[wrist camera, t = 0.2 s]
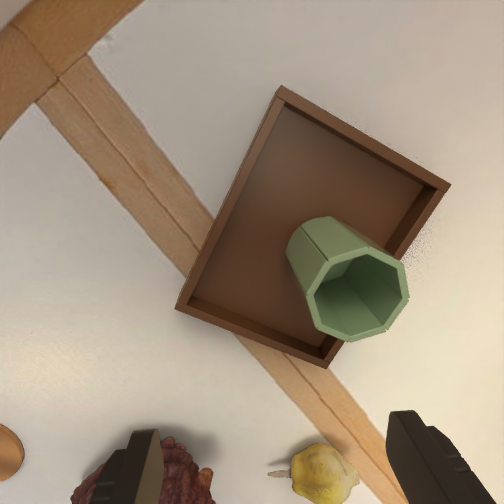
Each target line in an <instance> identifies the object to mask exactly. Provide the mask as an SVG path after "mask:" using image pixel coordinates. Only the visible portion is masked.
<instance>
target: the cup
mask: <svg viewBox="0 0 504 504" xmlns="http://www.w3.org/2000/svg"><path fill="white" fill-rule="evenodd" d="M285 251H286V252H285V254H286V257H287V261H288V264H289V267H290V270H291V273H292V277H293V279H294V281H295V283H296V286H297V288H298V290H299V292H300V295H301V297H302V299H303V301H304V304H305V306H306V308H307V310H308V313H309V315H310V317H311V319H312V322H313V324H314V326H315V328H317V330H320V331H322V332H324V333H327V334H329V335H331V336H334V337H336V338H339V339H341V340H343V341H346V342H349V341H350V342H354V341H357V340H361V339H364V338H367V337H370V336H373V335H377V334H380V333H383V332H386V330H388V329H389V328H390V326H391V325H392V324H393V322H394V321H395V319H396V318H397V317H398V315H399V314H400V312H401V311H402V310H403V308H404V307H405V305H406V304H407V303H408V301H409V300H408V298H410V297H409V291H408V286H407V280H406V274H405V269H404V265H403V264H402V262H401V261H399V260H398V259H397V258H395V257H394V256H392V255H391V254H390V253H388V252H387V251H385V250H384V249H383V248H381V247H380V246H378V245H377V244H376V243H374V242H373V241H371V240H370V239H369V238H367V237H366V236H365V235H363V234H362V233H360V232H359V231H358V230H356V229H355V228H353V227H351V226H349V225H347V224H345V223H344V222H342V221H340V220H338V219H335V218H333V217H332V216H330V217H329V216H326V217H318V218H314V219H311V220H309V221H307V222H305V223H303V224H302V225H301V226H299V227H298V228H297V229H296V230H295V232H294V233H293V234H292V236H291V238H290V240H289V242H288V245H287V249H286V250H285ZM385 329H386V330H385Z"/></svg>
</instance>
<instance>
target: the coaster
mask: <svg viewBox="0 0 504 504" xmlns="http://www.w3.org/2000/svg"><path fill="white" fill-rule="evenodd" d="M23 458H24V450H23V446H22V444H21V442H20V440H19V439H18V438H17V436H16V435H15V434H14V433H13V432H11V431H10V430H9V429H7V428H6V427H4V426H3V425H1V424H0V482H1V481H3V480H6V479H8V478H9V477H11V476H12V475H13V474H14V473H16V471H17V470H18V469H19V467H20V466H21V464H22V462H23Z"/></svg>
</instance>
